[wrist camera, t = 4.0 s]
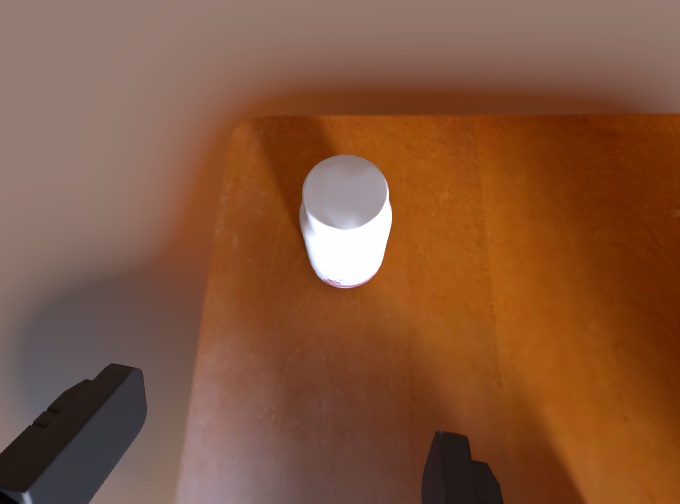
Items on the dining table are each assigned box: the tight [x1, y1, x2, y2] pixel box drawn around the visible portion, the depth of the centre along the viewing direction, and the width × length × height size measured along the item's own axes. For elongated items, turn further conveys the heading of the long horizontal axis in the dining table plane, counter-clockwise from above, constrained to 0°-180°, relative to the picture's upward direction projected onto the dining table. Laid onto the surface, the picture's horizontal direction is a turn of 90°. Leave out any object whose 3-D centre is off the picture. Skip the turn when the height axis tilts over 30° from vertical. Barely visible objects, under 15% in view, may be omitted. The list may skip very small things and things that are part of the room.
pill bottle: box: [299, 155, 392, 288], centre depth 23 cm, size 5×5×8 cm
